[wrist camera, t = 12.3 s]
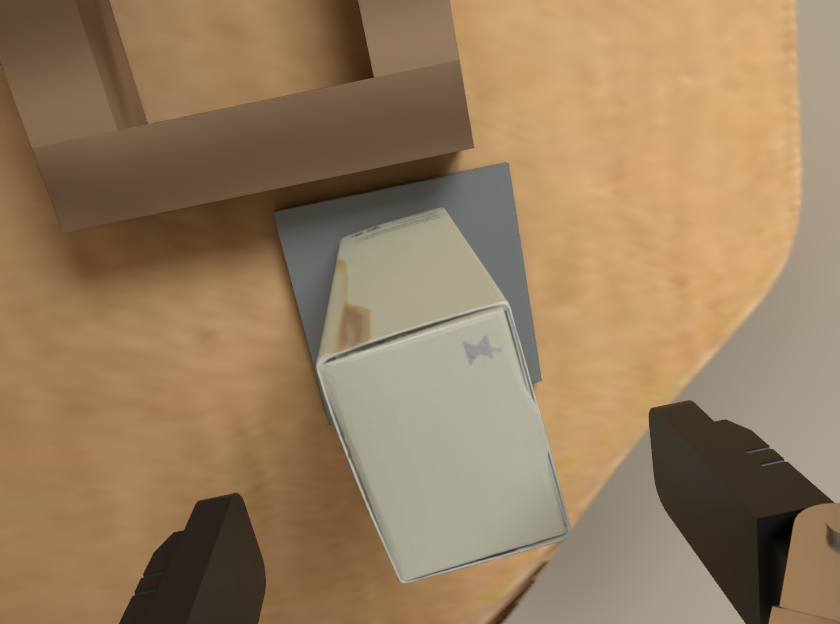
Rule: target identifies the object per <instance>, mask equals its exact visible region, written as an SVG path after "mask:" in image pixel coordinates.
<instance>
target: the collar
mask: <svg viewBox="0 0 840 624" xmlns="http://www.w3.org/2000/svg"><path fill="white" fill-rule="evenodd" d="M358 5H359V9H360V14H361V19H362V24H363V29H364V34H365V39H366V44H367V48H368V53H369V58H370V63H371V68H372V73H373V78H369V79H365V80H360V81H355V82H350V83H345V84H340V85H335V86H331V87H326V88H321V89H316V90H311V91H306V92H302V93H297V94H292V95H287V96H282V97H277V98H273V99H268V100H263V101H258V102H253V103H248V104H243V105H239V106H234V107H229V108H224V109H219V110H214V111H210V112H205V113H200V114H195V115H190V116H185V117H180V118H176V119H171V120H166V121H161V122H156V123H151V124H147V121H146V118H145V115H144V111H143V108H142V105H141V102H140V99H139V95H138V92H137V89H136V86H135V82H134V79H133V76H132V73H131V70H130V66H129V63H128V60H127V57H126V54H125V50H124V47H123V44H122V41H121V38H120V34H119V31H118V28H117V25H116V21H115V18H114V15H113V12H112V9H111V5H110V2H109V0H0V63H1V65H2V68H3V71H4V74H5V76H6V79H7V82H8V85H9V87H10V90H11V93H12V95H13V98H14V101H15V104H16V106H17V109H18V112H19V114H20V117H21V120H22V123H23V125H24V128H25V131H26V134H27V136H28V139H29V142H30V144H31V147H32V150H33V153H34V155H35V158H36V161H37V163H38V166H39V169H40V172H41V174H42V177H43V180H44V183H45V185H46V188H47V191H48V193H49V196H50V199H51V202H52V204H53V207H54V210H55V212H56V215H57V218H58V221H59V223H60V226H61V229H62V232H63V233H65V232H70V231H75V230H80V229H85V228H90V227H94V226H99V225H104V224H109V223H114V222H119V221H123V220H128V219H133V218H138V217H143V216H148V215H152V214H157V213H162V212H167V211H172V210H177V209H181V208H186V207H191V206H196V205H201V204H206V203H210V202H215V201H220V200H225V199H230V198H235V197H239V196H244V195H249V194H254V193H259V192H264V191H268V190H273V189H278V188H283V187H288V186H293V185H297V184H302V183H307V182H312V181H317V180H322V179H326V178H331V177H336V176H341V175H346V174H351V173H355V172H360V171H365V170H370V169H375V168H380V167H384V166H389V165H394V164H399V163H404V162H409V161H413V160H418V159H423V158H428V157H433V156H438V155H442V154H447V153H452V152H457V151H462V150H467V149H471V148H474V144H473V138H472V132H471V126H470V120H469V114H468V108H467V102H466V96H465V90H464V84H463V78H462V72H461V66H460V60H459V54H458V48H457V42H456V36H455V30H454V24H453V18H452V12H451V6H450V0H358Z"/></svg>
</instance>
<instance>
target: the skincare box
mask: <svg viewBox="0 0 840 624" xmlns="http://www.w3.org/2000/svg"><path fill="white" fill-rule="evenodd" d="M316 371H317V374H318V377H319V380H320V383H321V387H322V390H323V393H324V396H325V399H326V402H327V405H328V408H329V411H330V414H331V417H332V420H333V423H334V426H335V428H336V431H337V434H338V437H339V440H340V442H341V444H342V447H343V450H344V452H345V455H346V457H347V460H348V462H349V464H350V467H351V470H352V473H353V475H354V477H355V480H356V482H357V485H358V487H359V490H360V492H361V495H362V497H363V500H364V502H365V504H366V507H367V509H368V512H369V514H370V516H371V519H372V521H373V523H374V526H375V528H376V530H377V533H378V535H379V537H380V539H381V541H382V544H383V546H384V549H385V551H386V553H387V555H388V557H389V560H390V562H391V564H392V566H393V568H394V571H395V573H396V575H397V577H398V580H399V581H400V582H401V583H403V584H406V583H410V582H414V581H418V580H421V579H424V578H428V577H431V576H435V575H439V574H444V573H448V572H451V571H455V570H458V569H462V568H466V567H470V566H475V565H478V564H481V563H485V562H488V561H492V560H495V559H498V558H502V557H507V556H510V555H513V554H518V553H521V552H525V551H528V550H531V549H535V548H538V547H542V546H545V545H549V544H552V543H556V542H559V541H563V540H565V539H566V538H567V537H568V536H569V533H570V531H571V526H570V523H569V519H568V515H567V512H566V508H565V504H564V500H563V496H562V492H561V488H560V484H559V481H558V477H557V473H556V469H555V465H554V462H553V458H552V455H551V451H550V447H549V443H548V439H547V436H546V432H545V428H544V425H543V421H542V418H541V414H540V411H539V407H538V404H537V400H536V397H535V393H534V389H533V386H532V383H531V379H530V376H529V372H528V368H527V365H526V361H525V358H524V354H523V350H522V347H521V343H520V339H519V336H518V333H517V330H516V327H515V323H514V319H513V315H512V311H511V308H510V305H509V303H508V301H507V300H506V299H505V297H504V295H503V294H502V292H501V291H500V289H499V288H498V286H497V285H496V283H495V282H494V280H493V279H492V277H491V276H490V274H489V273H488V271H487V270H486V269H485V267H484V266H483V264H482V263H481V261H480V260H479V258H478V257H477V255H476V254H475V253H474V251H473V250H472V248H471V247H470V245H469V244H468V242H467V241H466V239H465V238H464V236H463V235H462V234H461V232H460V231H459V229H458V228H457V226H456V225H455V223H454V222H453V220H452V219H451V217H450V216H449V214H448V213H447V211H446V210H445V208H443V207H440V208H436V209H432V210H428V211H425V212H421V213H418V214H414V215H411V216H407V217H404V218H400V219H397V220H393V221H390V222H387V223H383V224H380V225H377V226H374V227H371V228H368V229H365V230H362V231H360V232H357V233H354V234H351V235H348V236H346V237H343V238H342V239H341V240H340V244H339V249H338V254H337V260H336V266H335V271H334V276H333V281H332V286H331V291H330V297H329V302H328V307H327V313H326V318H325V323H324V328H323V333H322V338H321V343H320V348H319V353H318V357H317V360H316Z"/></svg>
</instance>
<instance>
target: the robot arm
mask: <svg viewBox="0 0 840 624" xmlns="http://www.w3.org/2000/svg"><path fill="white" fill-rule="evenodd" d="M649 428H650V438H651V449H652V459H653V470H654V479H655V485H656V489H657V492H658V495H659V498H660V501H661V503H662V505H663V507H664V509H665V510H666V512H667V513H668V515H669V516H670V518H671V519H672V521H673V522H674V523H675V525H676V526H677V528H678V529H679V530H680V532H681V533H682V535H683V536H684V537H685V539H686V540H687V542H688V543H689V544H690V546H691V547H692V549H693V550H694V551H695V553H696V554H697V555H698V557H699V558H700V560H701V561H702V563H703V564H704V565H705V567H706V568H707V570H708V571H709V573H710V574H711V575H712V577H713V578H714V580H715V581H716V582H717V584H718V585H719V587H720V588H721V589H722V591H723V592H724V594H725V595H726V597H727V598H728V599H729V601H730V602H731V603H732V605H733V606H734V608H735V609H736V611H737V612H738V613H739V615H740V616H741V618H742V619H743V620H744V622H745V623H746V624H840V503H834V502H833V501H832V500H831V499H830V498H828V497H827V496H826V495H825V494H824V493H822V492H821V491H820V490H819V489H818V488H817V487H816V486H815V485H813V484H812V483H811V482H810V481H809V480H808V479H807V478H805V477H804V476H803V475H802V474H801V473H800V472H798V471H797V470H796V469H795V468H794V467H793V466H792V465H791V464H789V463H788V462H785V461H784V459H783V457H781V456H780V455H779V454H778V453H777V452H776V451H774V450H773V449H770V448H769V445H768V444H766V443H765V442H764V441H763V440H762V439H761V438H760V437H758V436H757V435H756V434H755V433H754V432H753V431H751V430H749V429H747V428H745V427H742V426H739V425H737V424H735V423H733V422H730V421H728V420H721V421H716V422H714V421H713V420H712V419H711V418H710V417H709V416H708V415H707V414H706V413H704V411H702V410H701V409H700V408H699V407H698V406H697V405H696V404H695V403H694V402H693V401H691V400H688V401H683V402H678V403H674V404H668V405H664V406H659V407H654V408H651V409H650V412H649ZM143 575H144V578H141V580H140V582H139V584H138V586H137V588H136V590H135V596H132V598H131V600H130V602H129V604H128V606H127V608H126V610H125V612H124V614H123V616H122V618H121V620H120V623H119V624H258V621H259V617H260V612H261V608H262V603H263V599H264V594H265V587H266V577H265V568H264V562H263V558H262V555H261V552H260V549H259V546H258V543H257V540H256V537H255V534H254V531H253V528H252V525H251V522H250V518H249V515H248V512H247V509H246V506H245V503H244V501H243V499H242V497H241V496H240V494H238V493H233V494H229V495H224V496H219V497H214V498H209V499H205V500H200V501H198V502H197V503H196V505H195V507H194V509H193V511H192V514H191V516H190V518H189V520H188V523H187V525H186V527H185V529H184V531H179V532H174V533H173V534H172V535H171V536H170V537H169V538H168V539H167V540H166V541H165V542H164V543H163V544H162V545H161V546H160V547H159V548H158V549H157V550H156V551H155V552H154V553H153V555H152V557H151V559H150V561H149V563H148V566H147V568H146V570H145V572H144V574H143Z"/></svg>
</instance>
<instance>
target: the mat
mask: <svg viewBox="0 0 840 624" xmlns="http://www.w3.org/2000/svg"><path fill="white" fill-rule="evenodd" d="M440 207H443V208H445V210H446V211H447V213H448V214H449V216H450V217H451V219H452V220H453V222H454V223H455V225H456V226H457V228H458V229H459V231H460V232H461V234H462V235H463V236H464V238H465V239H466V241H467V242H468V244H469V245H470V247H471V248H472V250H473V251H474V253H475V254H476V255H477V257H478V258H479V260H480V261H481V263H482V264H483V266H484V267H485V269H486V270H487V271H488V273H489V274H490V276H491V277H492V279H493V280H494V282H495V283H496V285H497V286H498V288H499V289H500V291H501V292H502V294H503V295H504V297H505V299H506V300H507V301H508V303H509V305H510V308H511V311H512V315H513V319H514V323H515V327H516V330H517V333H518V336H519V339H520V343H521V347H522V350H523V354H524V358H525V361H526V365H527V368H528V372H529V376H530V379H531V383H535V382H540V381H542V379H541V372H540V366H539V359H538V353H537V346H536V340H535V333H534V326H533V320H532V313H531V307H530V300H529V294H528V287H527V280H526V274H525V267H524V261H523V254H522V248H521V241H520V234H519V228H518V221H517V215H516V208H515V202H514V195H513V188H512V182H511V175H510V169H509V164H508V163H506V162H505V163H501V164H496V165H491V166H486V167H481V168H476V169H472V170H467V171H462V172H457V173H452V174H447V175H443V176H438V177H433V178H428V179H423V180H418V181H414V182H409V183H404V184H399V185H394V186H389V187H385V188H380V189H375V190H370V191H365V192H360V193H356V194H351V195H346V196H341V197H336V198H331V199H327V200H322V201H317V202H312V203H307V204H302V205H298V206H293V207H288V208H283V209H278V210H275V211H274V212H273V215H274V219H275V222H276V226H277V230H278V234H279V237H280V241H281V245H282V249H283V252H284V256H285V260H286V264H287V268H288V271H289V275H290V279H291V283H292V286H293V290H294V294H295V298H296V301H297V305H298V309H299V313H300V316H301V320H302V324H303V328H304V332H305V335H306V339H307V343H308V347H309V350H310V354H311V358H312V362H313V365H314V369H315V373H316V377H317V380H318V384H319V388H320V392H321V395H322V399H323V403H324V407H325V411H326V414H327V418H328V422H329V425H333V424H334V423H333V420H332V417H331V414H330V411H329V408H328V405H327V402H326V399H325V396H324V393H323V390H322V387H321V383H320V380H319V377H318V374H317V371H316V360H317V357H318V353H319V348H320V343H321V338H322V333H323V328H324V323H325V318H326V313H327V307H328V302H329V297H330V291H331V286H332V281H333V276H334V271H335V266H336V260H337V254H338V249H339V244H340V240H341V239H342V238H343V237H346V236H348V235H351V234H354V233H357V232H360V231H362V230H365V229H368V228H371V227H374V226H377V225H380V224H383V223H387V222H390V221H393V220H397V219H400V218H404V217H407V216H411V215H414V214H418V213H421V212H425V211H428V210H432V209H436V208H440Z"/></svg>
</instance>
